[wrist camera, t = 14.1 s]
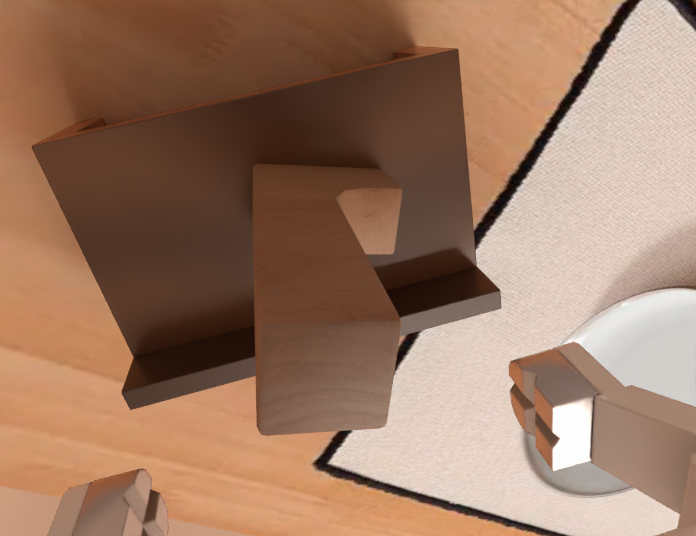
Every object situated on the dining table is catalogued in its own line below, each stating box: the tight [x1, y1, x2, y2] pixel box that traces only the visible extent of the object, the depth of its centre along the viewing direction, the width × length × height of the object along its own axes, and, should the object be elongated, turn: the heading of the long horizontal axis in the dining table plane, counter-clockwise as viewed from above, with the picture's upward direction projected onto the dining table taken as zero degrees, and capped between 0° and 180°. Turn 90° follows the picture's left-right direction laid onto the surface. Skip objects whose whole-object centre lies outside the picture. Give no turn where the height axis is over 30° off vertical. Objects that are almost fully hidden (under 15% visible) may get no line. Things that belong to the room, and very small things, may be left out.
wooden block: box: [252, 164, 402, 436], centre depth 19 cm, size 7×3×15 cm, turn 85°
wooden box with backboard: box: [32, 46, 501, 410], centre depth 27 cm, size 13×20×10 cm, turn 101°
